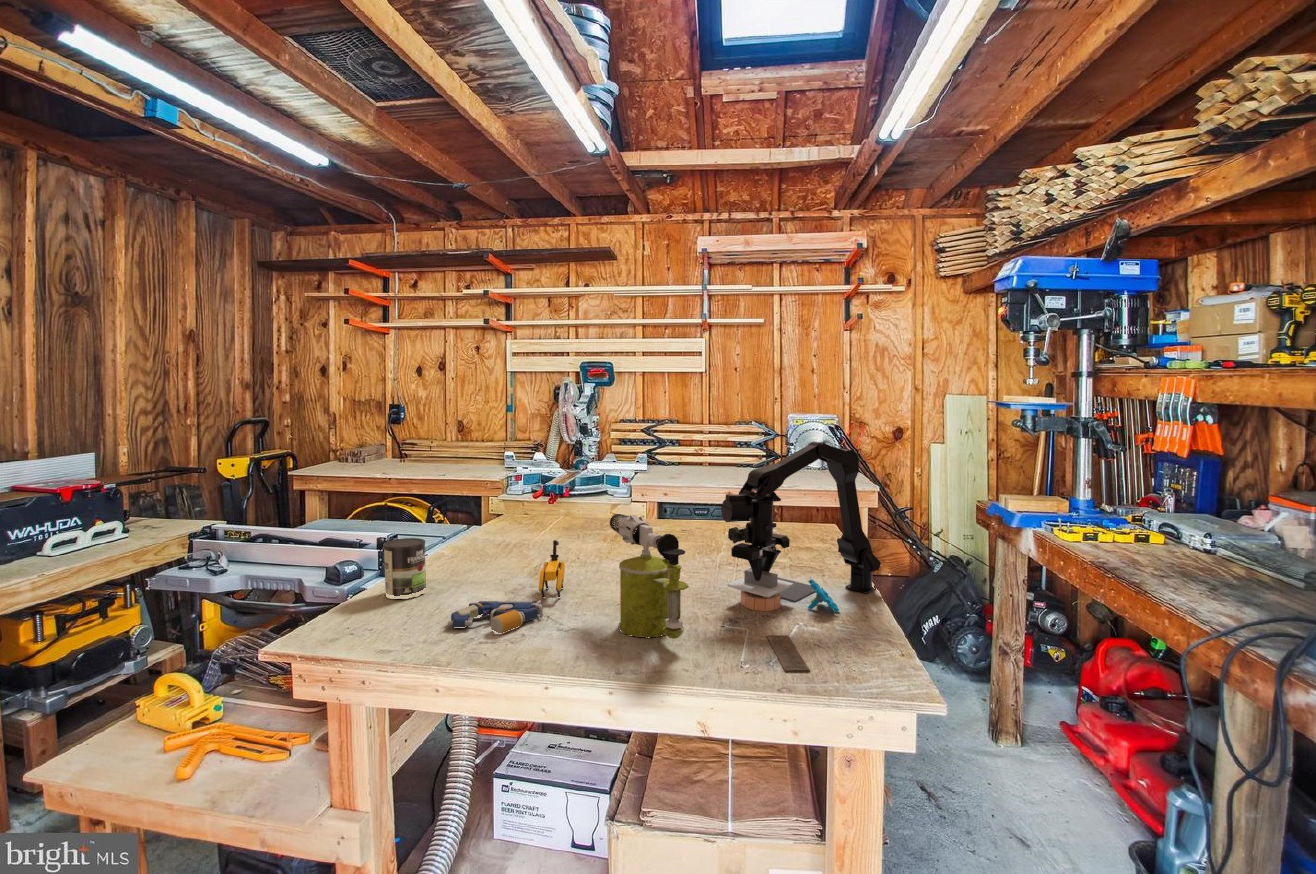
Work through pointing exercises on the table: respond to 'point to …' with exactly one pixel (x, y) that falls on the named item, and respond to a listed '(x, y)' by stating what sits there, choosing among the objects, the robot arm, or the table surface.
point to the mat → (796, 591)
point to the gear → (821, 597)
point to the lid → (761, 584)
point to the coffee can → (404, 566)
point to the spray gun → (497, 614)
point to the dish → (760, 601)
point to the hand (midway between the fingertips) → (760, 579)
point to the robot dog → (552, 572)
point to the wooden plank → (787, 653)
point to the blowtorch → (649, 581)
